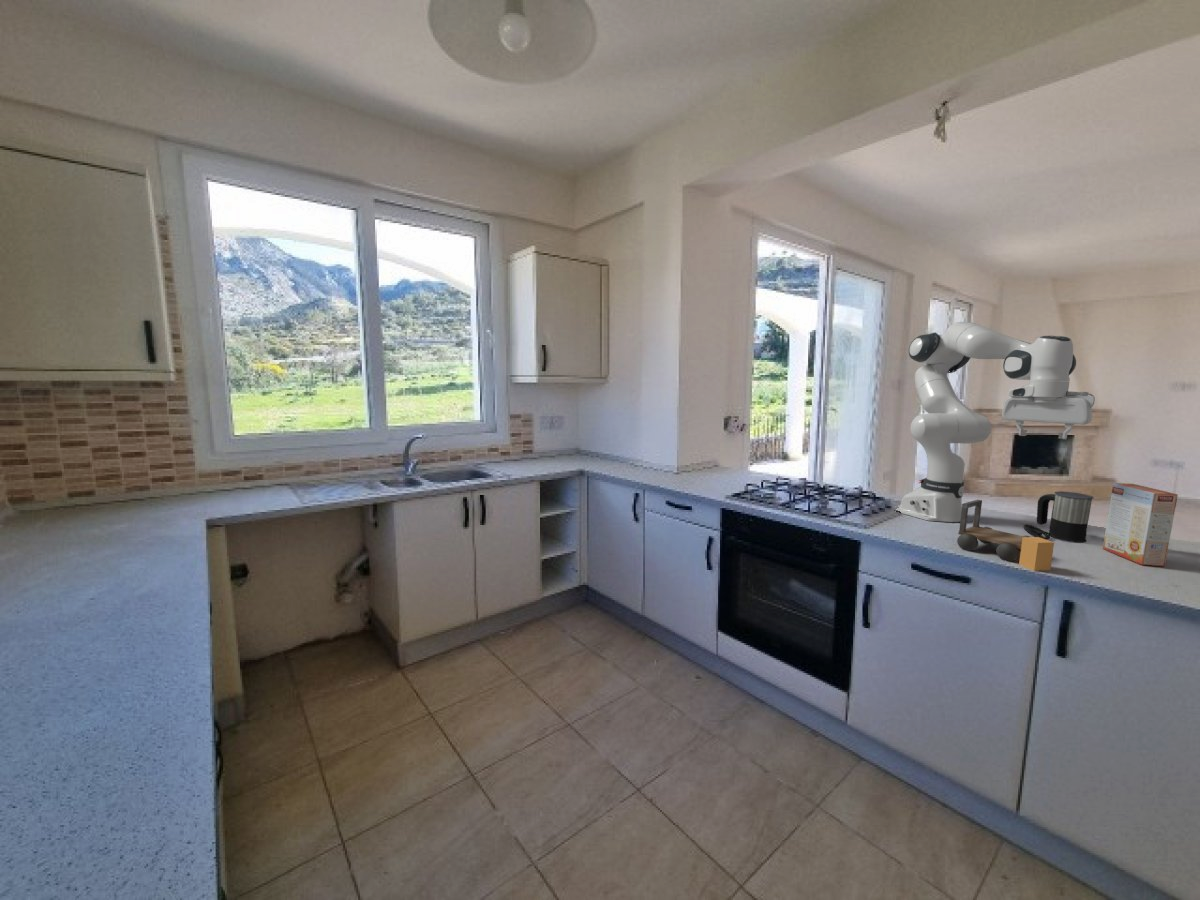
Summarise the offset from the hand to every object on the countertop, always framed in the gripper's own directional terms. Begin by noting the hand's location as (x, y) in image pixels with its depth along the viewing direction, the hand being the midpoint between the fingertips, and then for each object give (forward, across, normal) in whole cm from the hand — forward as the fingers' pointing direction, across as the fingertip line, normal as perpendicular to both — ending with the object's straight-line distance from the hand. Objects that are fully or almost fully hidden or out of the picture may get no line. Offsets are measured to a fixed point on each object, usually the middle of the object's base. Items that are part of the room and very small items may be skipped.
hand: (1041, 437), depth 149 cm
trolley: (+34, +3, +14) cm, 37 cm away
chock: (+34, -8, +20) cm, 41 cm away
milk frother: (+34, -1, -17) cm, 38 cm away
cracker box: (+34, -20, -14) cm, 42 cm away
